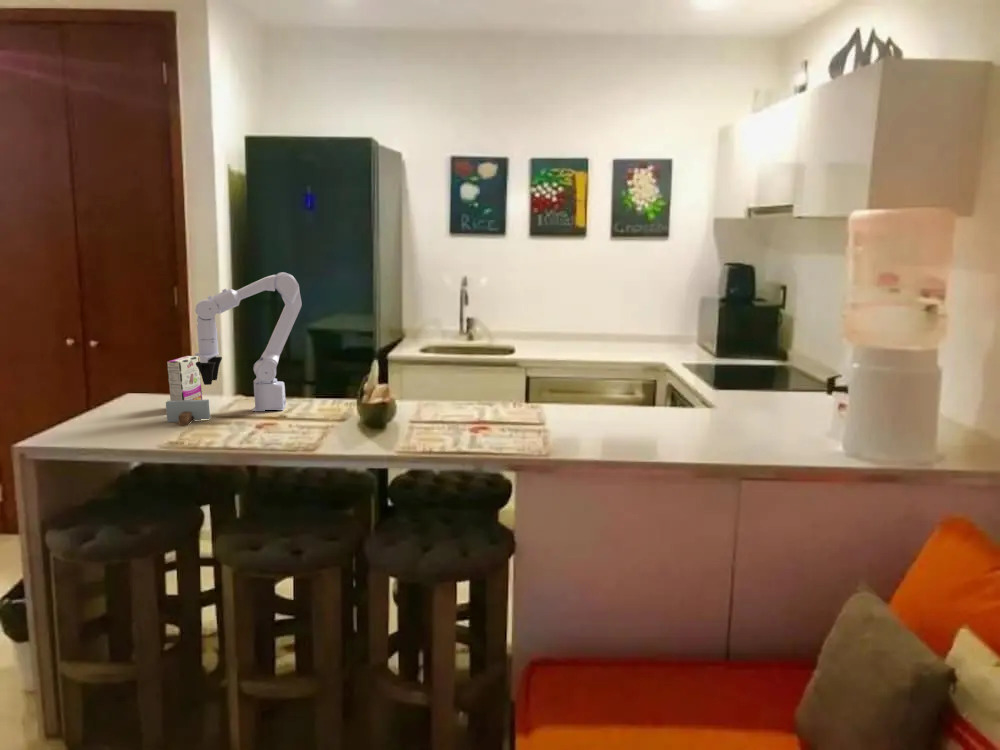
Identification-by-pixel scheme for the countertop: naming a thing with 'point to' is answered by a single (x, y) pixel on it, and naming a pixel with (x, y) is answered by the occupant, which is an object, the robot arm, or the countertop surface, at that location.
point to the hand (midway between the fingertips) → (210, 382)
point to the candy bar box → (184, 379)
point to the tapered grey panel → (187, 409)
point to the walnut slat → (185, 418)
